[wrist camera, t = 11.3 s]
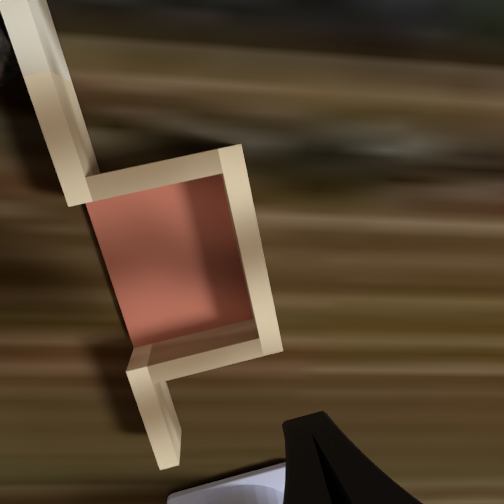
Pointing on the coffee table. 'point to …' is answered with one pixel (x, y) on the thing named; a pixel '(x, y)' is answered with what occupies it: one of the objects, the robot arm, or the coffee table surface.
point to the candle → (7, 57)
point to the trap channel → (157, 239)
